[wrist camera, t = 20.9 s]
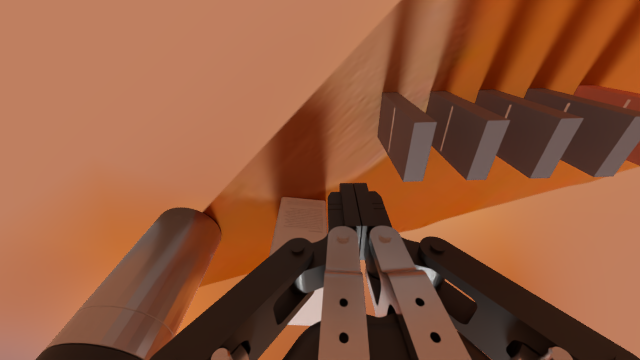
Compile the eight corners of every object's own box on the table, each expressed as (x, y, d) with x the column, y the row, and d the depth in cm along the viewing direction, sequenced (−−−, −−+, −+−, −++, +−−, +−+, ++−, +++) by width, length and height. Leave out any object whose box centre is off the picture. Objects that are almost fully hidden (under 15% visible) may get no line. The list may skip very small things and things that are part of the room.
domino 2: (421, 135, 28) (466, 180, 19) (430, 91, 25) (487, 120, 17) (434, 135, 28) (485, 179, 19) (445, 90, 25) (510, 120, 17)
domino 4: (509, 133, 28) (593, 176, 19) (528, 88, 25) (635, 116, 17) (523, 132, 28) (613, 176, 19) (543, 88, 25) (658, 116, 17)
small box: (320, 240, 37) (320, 327, 26) (279, 236, 37) (263, 324, 26) (326, 199, 33) (331, 283, 22) (281, 195, 32) (262, 278, 21)
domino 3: (465, 134, 28) (529, 178, 19) (479, 89, 25) (561, 118, 17) (479, 133, 28) (549, 177, 19) (494, 89, 25) (584, 118, 17)
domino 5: (554, 130, 28) (658, 173, 19) (578, 85, 25) (712, 112, 16) (568, 130, 28) (678, 173, 19) (593, 85, 25) (735, 111, 16)
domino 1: (377, 136, 28) (403, 181, 19) (382, 92, 25) (414, 122, 17) (391, 136, 28) (422, 181, 19) (397, 92, 25) (437, 122, 17)
